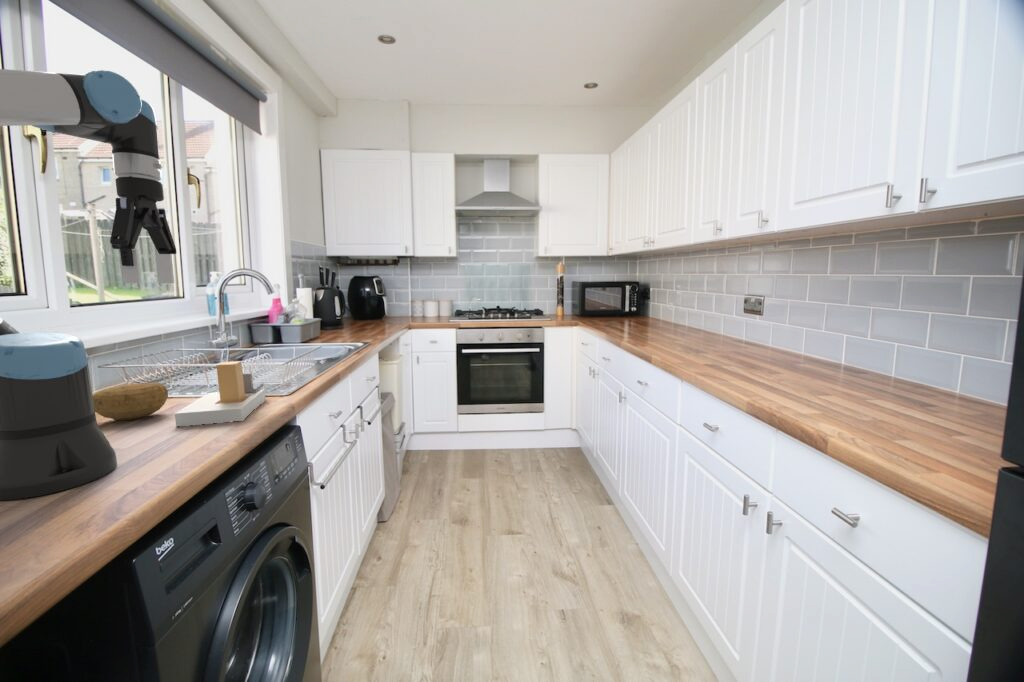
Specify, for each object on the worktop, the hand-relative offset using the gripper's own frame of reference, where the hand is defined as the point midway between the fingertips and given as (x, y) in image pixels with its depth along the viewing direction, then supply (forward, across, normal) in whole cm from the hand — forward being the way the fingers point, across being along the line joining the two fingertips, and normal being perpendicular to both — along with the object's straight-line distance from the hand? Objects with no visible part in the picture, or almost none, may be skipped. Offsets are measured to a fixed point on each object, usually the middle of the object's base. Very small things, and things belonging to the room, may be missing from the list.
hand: (150, 283), depth 95 cm
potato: (+31, +8, +10) cm, 34 cm away
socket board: (+31, +7, -9) cm, 33 cm away
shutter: (+28, +16, -11) cm, 34 cm away
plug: (+31, +7, -11) cm, 34 cm away
